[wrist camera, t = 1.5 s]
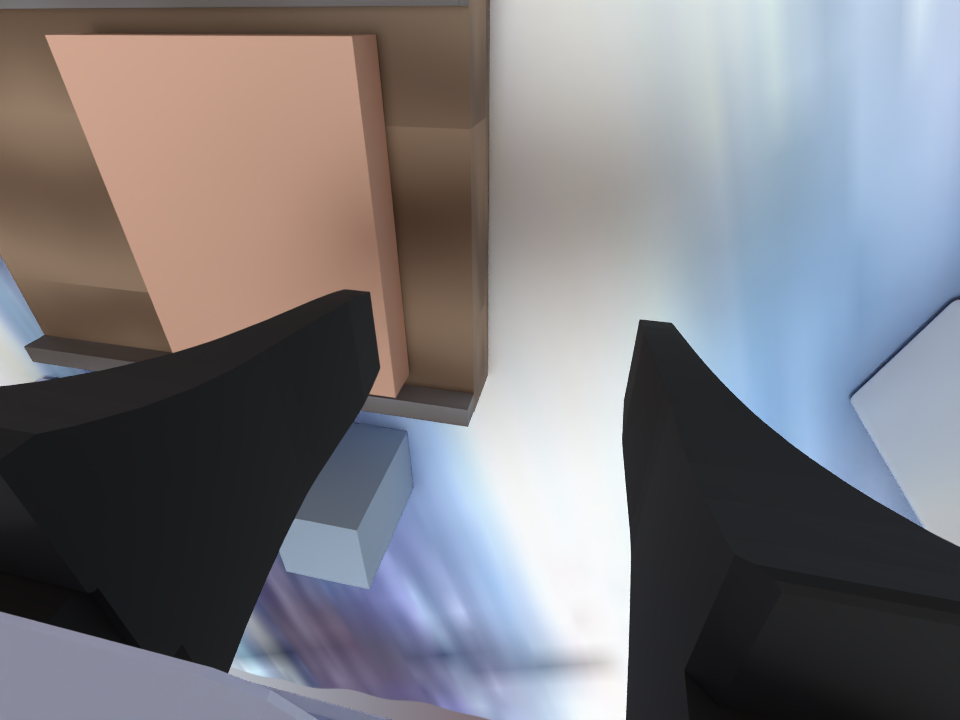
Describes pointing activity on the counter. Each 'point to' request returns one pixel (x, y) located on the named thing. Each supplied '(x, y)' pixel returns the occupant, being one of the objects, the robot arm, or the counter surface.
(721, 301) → the counter surface
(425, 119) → the board
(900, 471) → the jar
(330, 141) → the lid
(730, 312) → the counter surface
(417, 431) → the counter surface
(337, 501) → the block
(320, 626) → the counter surface
